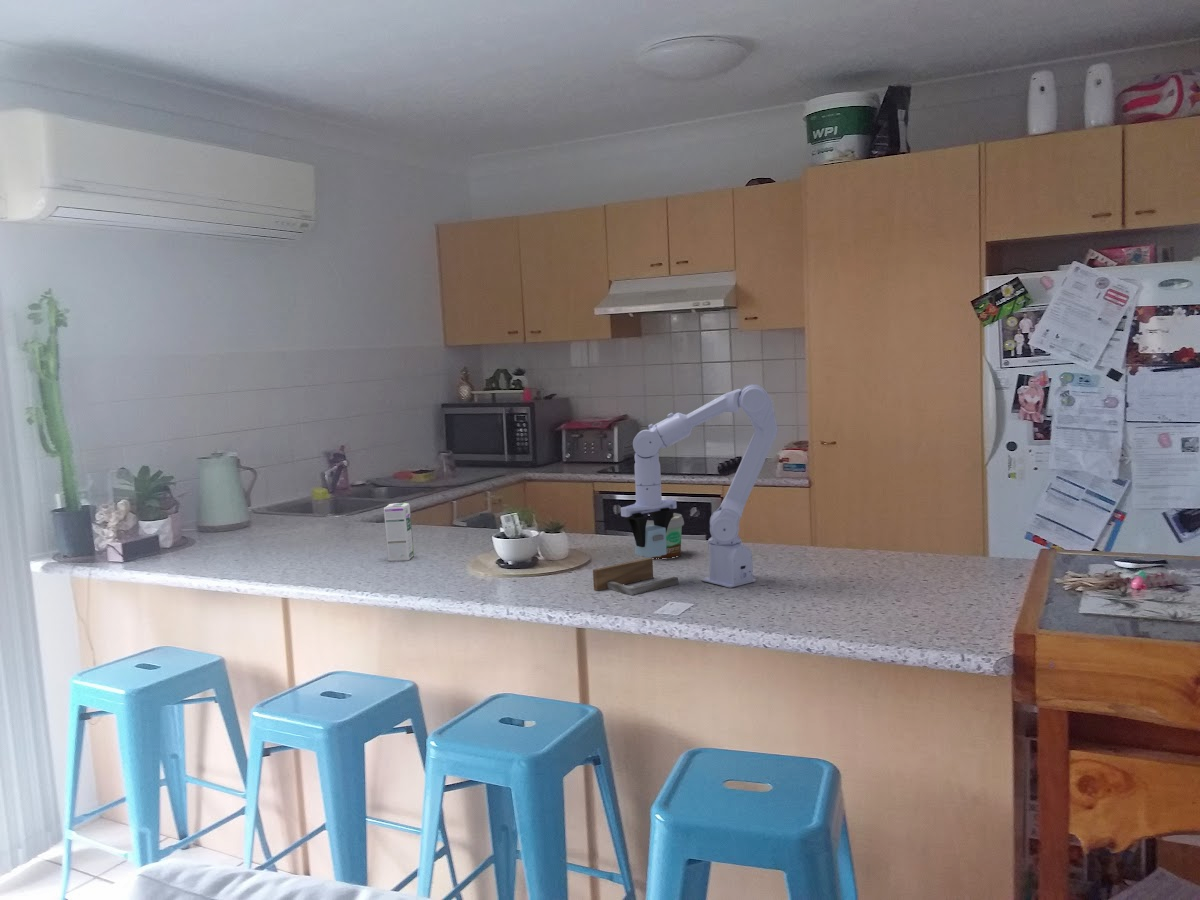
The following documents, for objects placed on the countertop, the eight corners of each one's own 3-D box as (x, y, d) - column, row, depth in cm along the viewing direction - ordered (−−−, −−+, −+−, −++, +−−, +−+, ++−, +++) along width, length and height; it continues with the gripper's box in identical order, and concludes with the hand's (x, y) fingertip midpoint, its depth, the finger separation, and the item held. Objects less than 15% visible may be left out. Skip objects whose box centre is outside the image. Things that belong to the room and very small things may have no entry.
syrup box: (409, 560, 248) (405, 505, 246) (387, 561, 248) (383, 506, 246) (414, 555, 253) (410, 502, 252) (392, 556, 254) (388, 503, 252)
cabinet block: (668, 554, 211) (667, 528, 210) (651, 558, 208) (649, 531, 207) (652, 550, 216) (651, 524, 215) (635, 554, 213) (634, 528, 212)
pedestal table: (678, 584, 210) (677, 564, 210) (621, 597, 201) (620, 576, 200) (649, 576, 218) (649, 557, 218) (593, 589, 209) (592, 569, 208)
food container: (666, 562, 232) (664, 522, 230) (646, 560, 235) (644, 520, 234) (695, 553, 241) (693, 514, 240) (675, 550, 245) (673, 512, 244)
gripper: (661, 478, 218) (663, 537, 219) (611, 486, 209) (613, 546, 211) (681, 481, 212) (684, 541, 214) (631, 489, 204) (633, 551, 205)
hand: (650, 544), depth 212 cm, fingers closed on cabinet block, 5 cm apart
